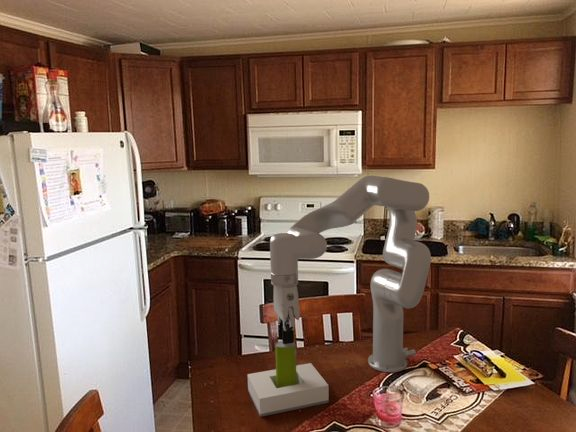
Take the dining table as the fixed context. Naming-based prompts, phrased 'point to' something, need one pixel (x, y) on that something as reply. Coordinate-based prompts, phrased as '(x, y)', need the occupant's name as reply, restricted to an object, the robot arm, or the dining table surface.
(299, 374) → the charging dock
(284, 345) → the vape
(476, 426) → the dining table surface
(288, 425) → the dining table surface
